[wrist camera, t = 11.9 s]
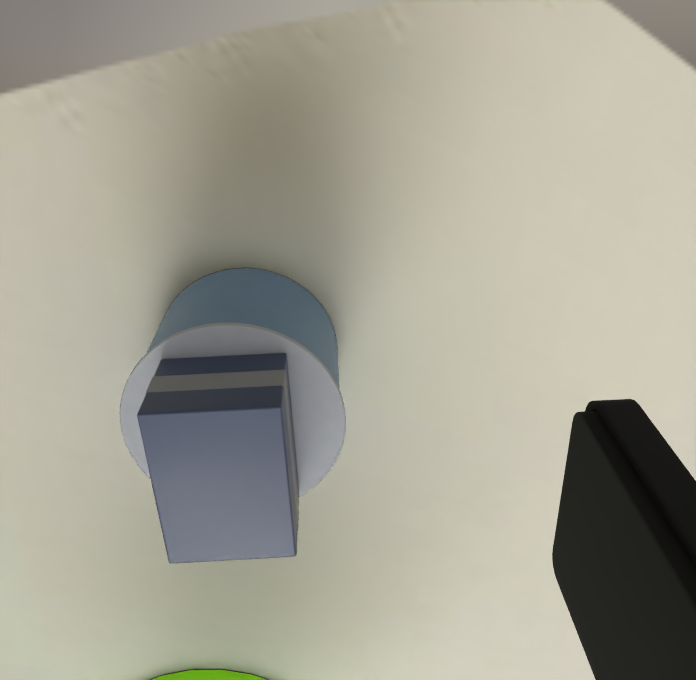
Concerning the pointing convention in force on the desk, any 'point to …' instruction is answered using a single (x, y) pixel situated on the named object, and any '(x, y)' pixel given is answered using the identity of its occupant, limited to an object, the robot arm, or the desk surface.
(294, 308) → the yogurt
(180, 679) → the wineglass
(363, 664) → the desk surface
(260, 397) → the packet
